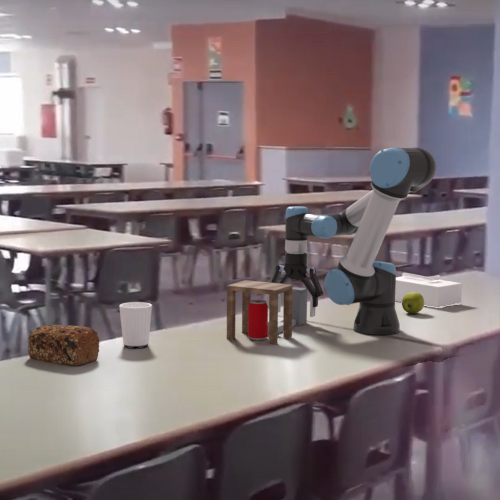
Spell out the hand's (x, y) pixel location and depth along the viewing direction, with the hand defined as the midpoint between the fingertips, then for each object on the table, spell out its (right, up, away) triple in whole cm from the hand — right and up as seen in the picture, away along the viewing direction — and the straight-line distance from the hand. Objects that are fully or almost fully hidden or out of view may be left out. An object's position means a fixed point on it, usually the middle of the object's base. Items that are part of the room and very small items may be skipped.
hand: (295, 314), depth 315 cm
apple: (+44, -1, +20) cm, 48 cm away
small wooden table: (-12, -6, -22) cm, 26 cm away
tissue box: (+52, +1, +43) cm, 67 cm away
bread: (-69, -10, -52) cm, 86 cm away
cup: (-50, -7, -35) cm, 61 cm away
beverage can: (-13, -6, -23) cm, 27 cm away
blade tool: (-4, -4, -7) cm, 9 cm away
